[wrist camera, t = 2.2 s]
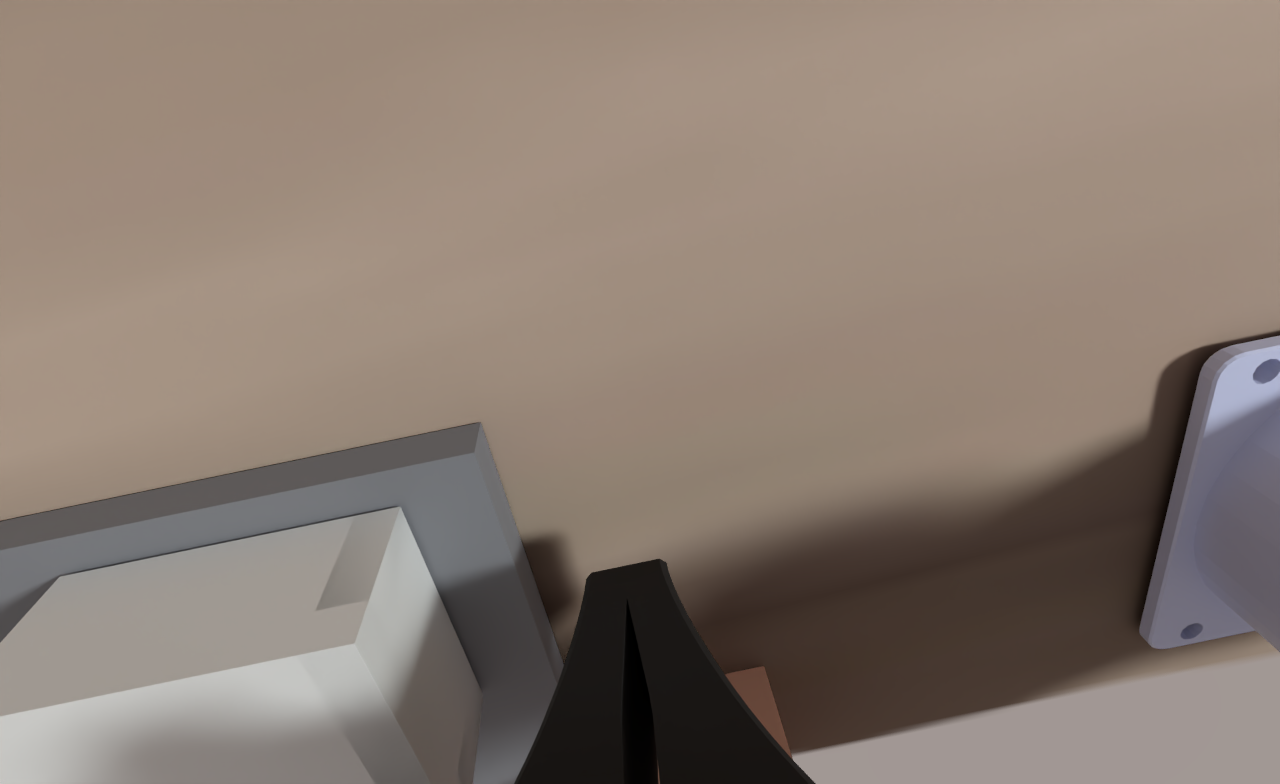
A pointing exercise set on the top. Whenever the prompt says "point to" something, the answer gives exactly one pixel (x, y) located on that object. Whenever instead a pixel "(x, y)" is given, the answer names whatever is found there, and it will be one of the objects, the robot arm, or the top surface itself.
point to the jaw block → (759, 701)
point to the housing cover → (244, 667)
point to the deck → (329, 490)
